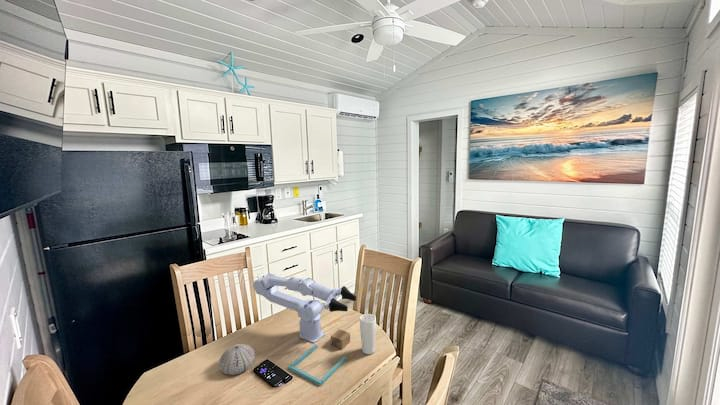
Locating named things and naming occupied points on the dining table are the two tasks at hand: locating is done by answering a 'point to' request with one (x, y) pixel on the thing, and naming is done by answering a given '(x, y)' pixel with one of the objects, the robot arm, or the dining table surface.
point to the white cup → (368, 333)
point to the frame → (308, 376)
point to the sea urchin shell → (237, 359)
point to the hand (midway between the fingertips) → (351, 303)
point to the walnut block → (340, 339)
